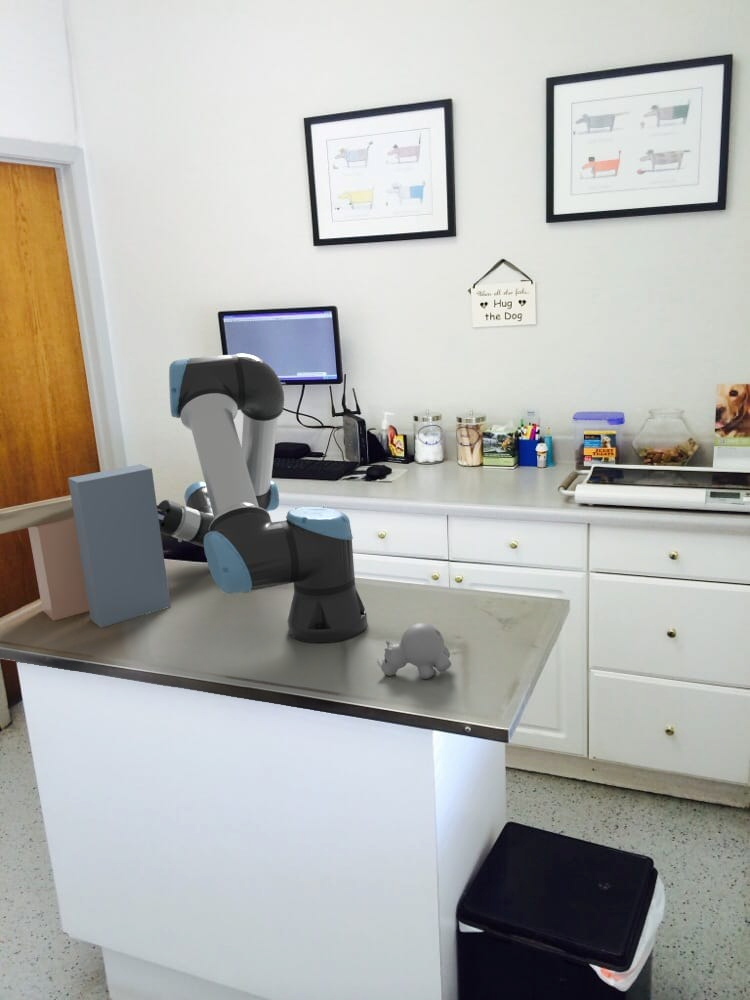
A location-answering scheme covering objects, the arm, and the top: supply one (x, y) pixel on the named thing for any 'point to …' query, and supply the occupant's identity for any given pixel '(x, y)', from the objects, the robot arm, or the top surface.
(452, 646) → the top surface
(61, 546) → the step
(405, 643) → the round bodied animal figurine
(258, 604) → the top surface
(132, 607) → the post
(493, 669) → the top surface
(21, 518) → the bar
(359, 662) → the top surface
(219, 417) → the robot arm
